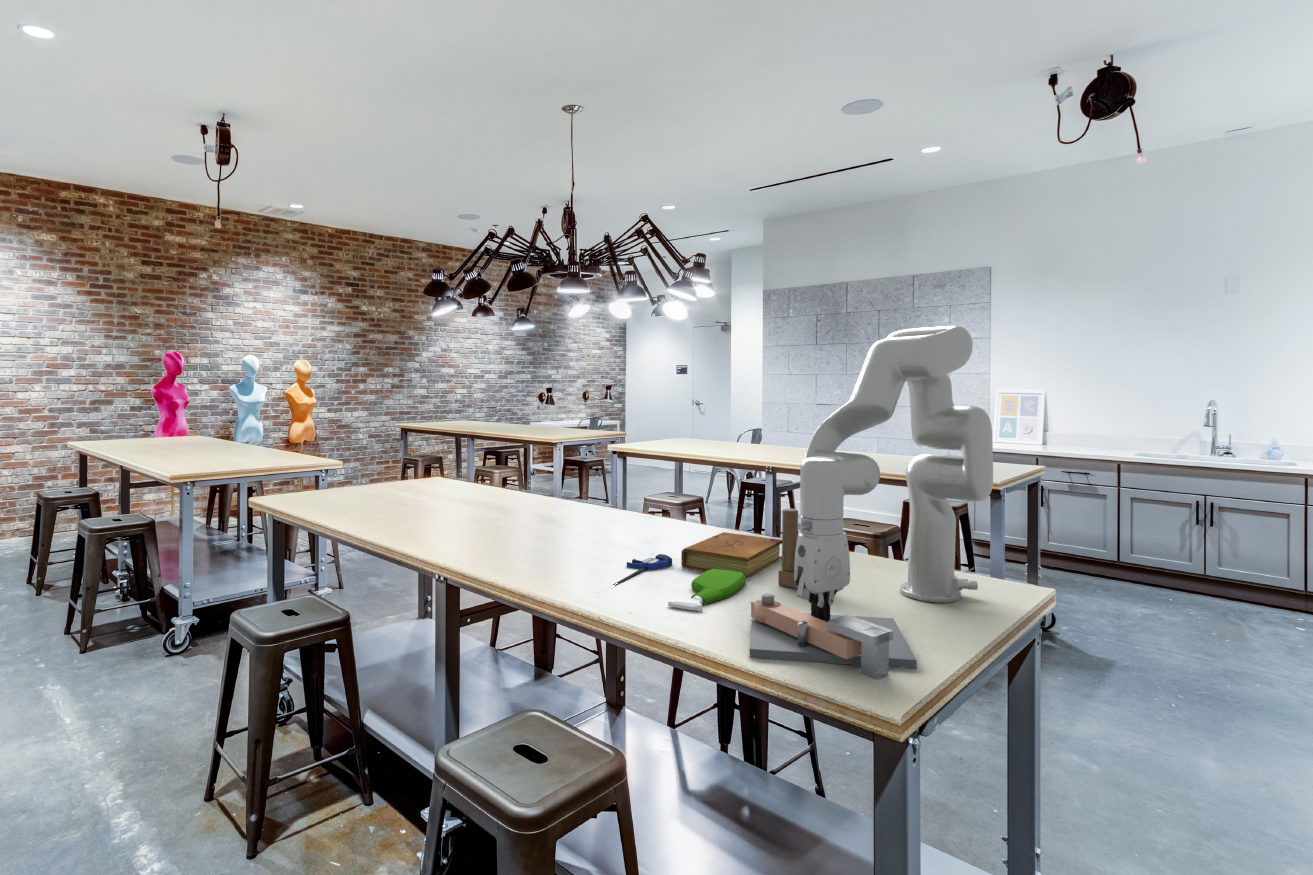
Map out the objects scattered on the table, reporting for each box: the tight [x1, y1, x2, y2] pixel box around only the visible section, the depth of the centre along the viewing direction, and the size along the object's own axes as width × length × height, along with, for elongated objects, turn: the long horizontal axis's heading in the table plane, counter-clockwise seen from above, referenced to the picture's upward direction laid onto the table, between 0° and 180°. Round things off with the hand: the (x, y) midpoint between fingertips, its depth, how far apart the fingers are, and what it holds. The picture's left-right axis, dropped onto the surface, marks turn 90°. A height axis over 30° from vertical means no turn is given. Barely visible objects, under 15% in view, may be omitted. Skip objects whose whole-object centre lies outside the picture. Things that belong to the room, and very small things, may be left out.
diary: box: [681, 531, 782, 579], centre depth 172 cm, size 23×19×6 cm
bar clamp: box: [612, 553, 673, 587], centre depth 160 cm, size 32×2×10 cm
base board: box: [749, 612, 918, 670], centre depth 118 cm, size 27×20×2 cm
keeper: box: [798, 614, 893, 680], centre depth 108 cm, size 14×7×7 cm, turn 35°
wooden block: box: [777, 508, 799, 590], centre depth 149 cm, size 4×11×18 cm, turn 52°
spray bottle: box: [667, 569, 747, 612], centre depth 145 cm, size 3×11×24 cm
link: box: [750, 593, 862, 659], centre depth 115 cm, size 24×5×4 cm, turn 32°
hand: (820, 625), depth 117 cm, fingers closed
